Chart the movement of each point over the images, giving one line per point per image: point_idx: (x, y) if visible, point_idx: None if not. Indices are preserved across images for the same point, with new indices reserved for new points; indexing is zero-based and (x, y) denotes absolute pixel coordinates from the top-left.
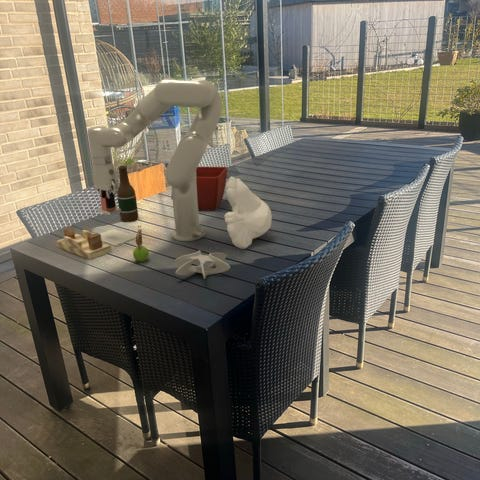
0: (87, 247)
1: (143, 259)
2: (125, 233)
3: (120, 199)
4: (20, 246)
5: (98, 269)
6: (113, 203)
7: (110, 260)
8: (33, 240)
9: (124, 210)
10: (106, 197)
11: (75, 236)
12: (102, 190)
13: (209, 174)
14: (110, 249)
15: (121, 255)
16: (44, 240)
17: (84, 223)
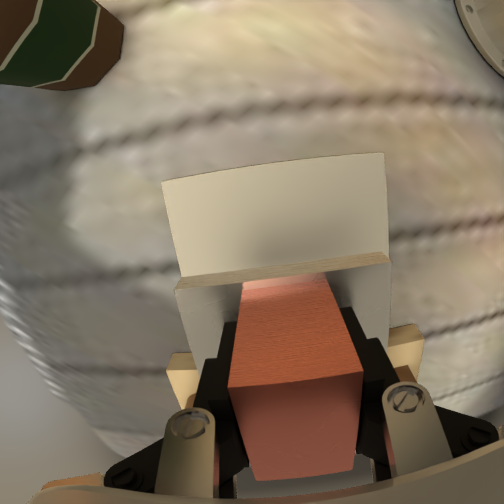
0: None
1: None
2: (287, 169)
3: (5, 69)
4: (120, 449)
5: (466, 391)
6: (382, 356)
7: (460, 352)
8: (89, 418)
9: (67, 65)
10: (330, 453)
11: (194, 386)
12: (154, 485)
13: None
14: (418, 331)
15: (467, 311)
16: (105, 407)
17: (8, 240)
